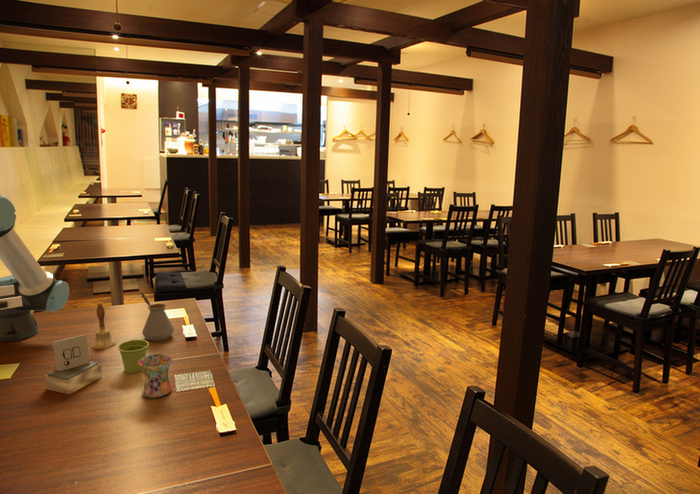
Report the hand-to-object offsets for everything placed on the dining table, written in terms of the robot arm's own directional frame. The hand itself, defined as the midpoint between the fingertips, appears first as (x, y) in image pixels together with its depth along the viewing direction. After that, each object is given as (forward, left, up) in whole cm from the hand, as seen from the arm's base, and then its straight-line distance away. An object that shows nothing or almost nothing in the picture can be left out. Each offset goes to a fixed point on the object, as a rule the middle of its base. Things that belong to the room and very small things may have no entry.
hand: (18, 295), depth 135 cm
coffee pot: (-49, +4, -30) cm, 58 cm away
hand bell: (-34, -6, -30) cm, 46 cm away
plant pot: (-22, +19, -30) cm, 42 cm away
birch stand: (-8, +9, -30) cm, 32 cm away
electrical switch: (-9, +7, -25) cm, 28 cm away
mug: (-13, +35, -30) cm, 48 cm away
